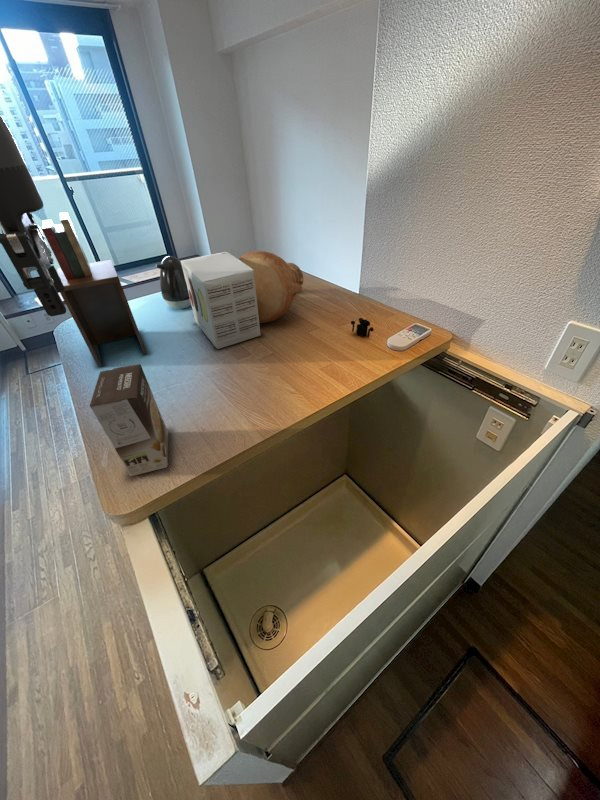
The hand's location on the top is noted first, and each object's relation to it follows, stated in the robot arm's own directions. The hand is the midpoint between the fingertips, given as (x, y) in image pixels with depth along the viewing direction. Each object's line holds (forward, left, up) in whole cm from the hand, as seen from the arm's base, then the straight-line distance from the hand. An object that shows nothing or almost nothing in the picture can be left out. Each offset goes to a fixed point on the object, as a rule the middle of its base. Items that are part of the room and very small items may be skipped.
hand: (57, 302), depth 47 cm
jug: (+49, +32, -26) cm, 64 cm away
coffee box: (+3, -9, -26) cm, 28 cm away
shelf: (+3, +32, -26) cm, 41 cm away
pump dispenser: (+24, +50, -26) cm, 61 cm away
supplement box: (+31, +27, -26) cm, 49 cm away
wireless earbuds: (+62, +5, -26) cm, 68 cm away
